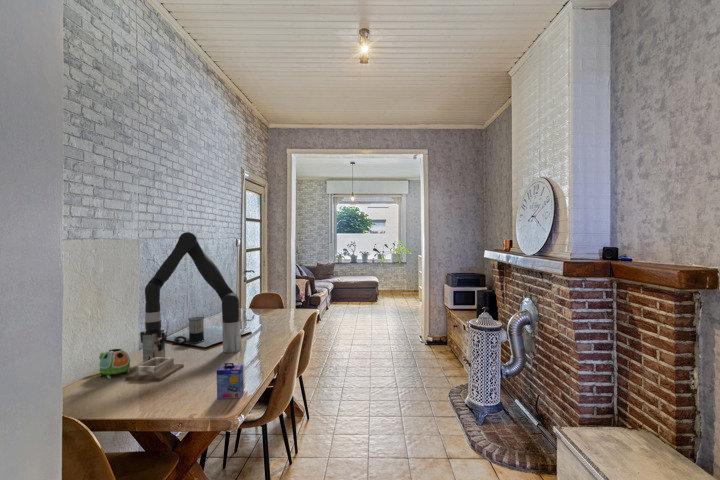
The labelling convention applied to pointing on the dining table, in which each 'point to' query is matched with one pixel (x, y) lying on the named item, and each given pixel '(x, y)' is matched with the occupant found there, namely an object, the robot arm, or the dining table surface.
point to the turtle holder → (114, 362)
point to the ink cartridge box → (230, 381)
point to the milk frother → (193, 330)
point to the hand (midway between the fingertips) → (153, 350)
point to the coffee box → (151, 346)
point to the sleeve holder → (155, 369)
